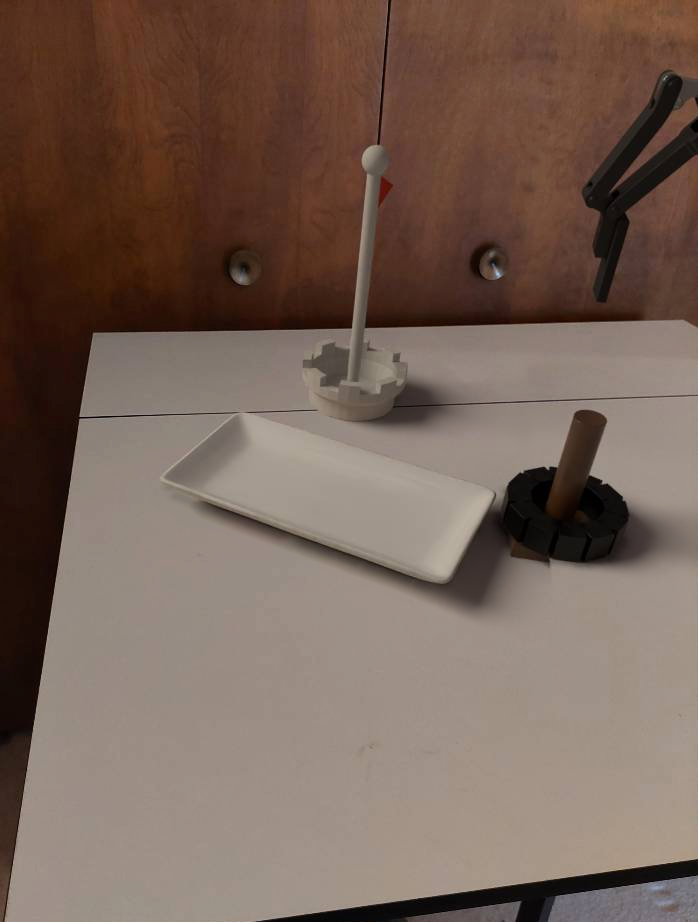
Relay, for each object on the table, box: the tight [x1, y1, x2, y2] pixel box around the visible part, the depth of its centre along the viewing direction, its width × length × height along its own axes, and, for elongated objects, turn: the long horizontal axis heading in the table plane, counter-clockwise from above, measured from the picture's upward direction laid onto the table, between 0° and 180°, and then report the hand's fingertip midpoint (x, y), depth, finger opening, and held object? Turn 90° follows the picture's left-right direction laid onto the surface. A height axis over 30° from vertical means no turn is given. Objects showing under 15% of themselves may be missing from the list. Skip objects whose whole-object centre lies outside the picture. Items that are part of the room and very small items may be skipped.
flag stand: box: [301, 144, 409, 422], centre depth 93 cm, size 13×13×30 cm
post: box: [508, 409, 608, 562], centre depth 78 cm, size 9×9×14 cm
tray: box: [159, 411, 497, 585], centre depth 83 cm, size 17×32×4 cm, turn 63°
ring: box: [500, 465, 630, 563], centre depth 81 cm, size 12×12×3 cm
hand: (683, 304), depth 66 cm, fingers open, 13 cm apart
